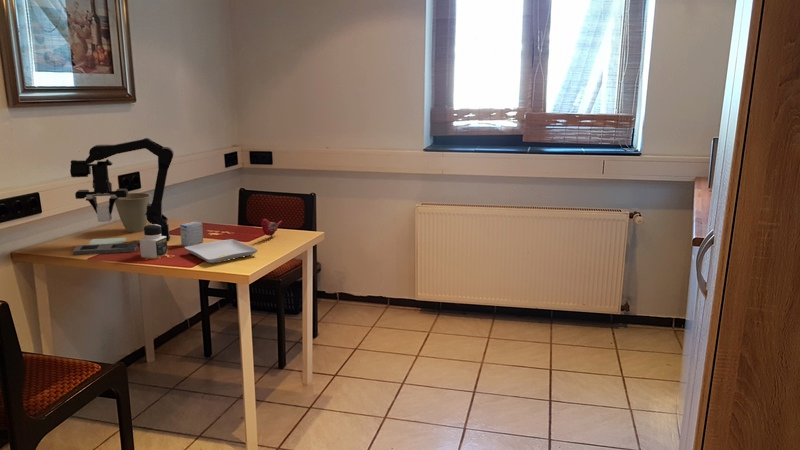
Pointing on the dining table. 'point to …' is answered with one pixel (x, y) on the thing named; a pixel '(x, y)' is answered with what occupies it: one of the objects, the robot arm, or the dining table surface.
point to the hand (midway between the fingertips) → (104, 214)
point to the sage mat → (107, 241)
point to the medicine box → (191, 233)
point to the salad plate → (221, 250)
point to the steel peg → (103, 213)
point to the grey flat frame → (105, 248)
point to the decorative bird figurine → (269, 227)
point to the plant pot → (133, 211)
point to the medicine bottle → (153, 242)
